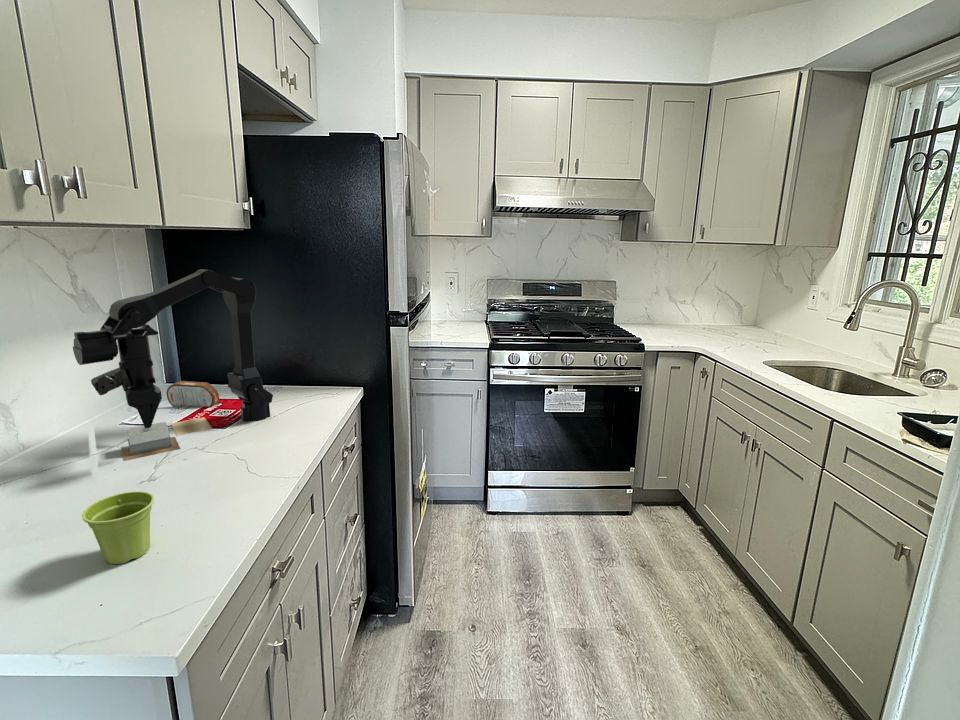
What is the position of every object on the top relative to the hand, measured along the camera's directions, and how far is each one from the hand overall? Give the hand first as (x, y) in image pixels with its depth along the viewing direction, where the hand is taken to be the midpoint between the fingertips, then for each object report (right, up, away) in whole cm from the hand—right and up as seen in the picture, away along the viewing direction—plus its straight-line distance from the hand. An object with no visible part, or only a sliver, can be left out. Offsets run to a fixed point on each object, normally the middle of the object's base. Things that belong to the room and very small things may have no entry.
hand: (145, 421), depth 115 cm
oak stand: (+2, -4, +16) cm, 16 cm away
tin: (-7, -1, +32) cm, 33 cm away
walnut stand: (0, -8, +2) cm, 8 cm away
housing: (0, -6, +2) cm, 7 cm away
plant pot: (+20, -17, -34) cm, 43 cm away
